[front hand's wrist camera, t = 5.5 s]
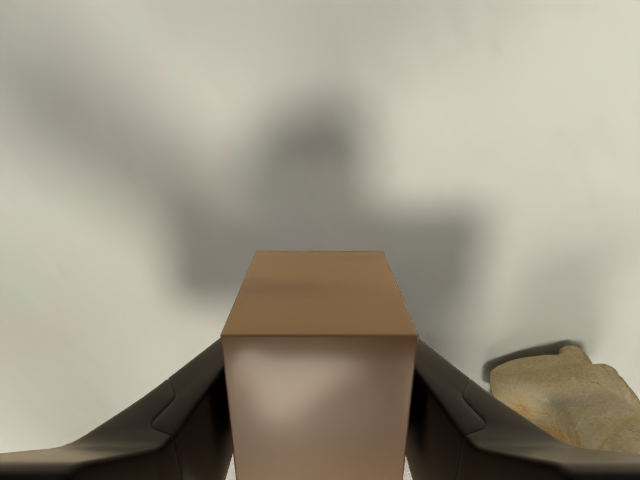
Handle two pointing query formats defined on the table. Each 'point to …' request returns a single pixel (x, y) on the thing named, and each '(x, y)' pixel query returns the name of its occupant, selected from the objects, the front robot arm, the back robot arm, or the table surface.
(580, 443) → the sculpture
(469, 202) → the table surface
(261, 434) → the block
